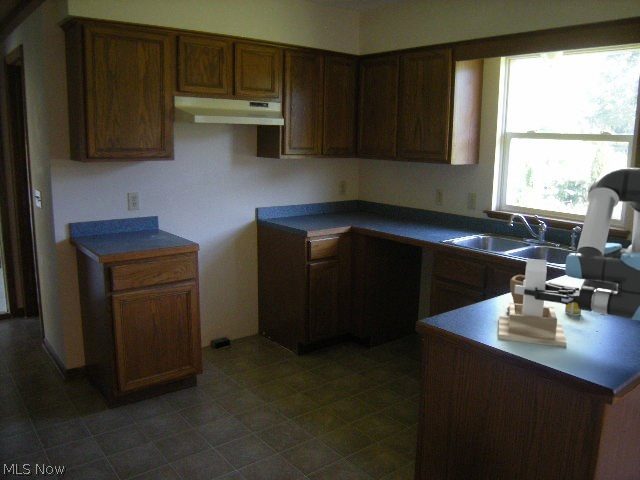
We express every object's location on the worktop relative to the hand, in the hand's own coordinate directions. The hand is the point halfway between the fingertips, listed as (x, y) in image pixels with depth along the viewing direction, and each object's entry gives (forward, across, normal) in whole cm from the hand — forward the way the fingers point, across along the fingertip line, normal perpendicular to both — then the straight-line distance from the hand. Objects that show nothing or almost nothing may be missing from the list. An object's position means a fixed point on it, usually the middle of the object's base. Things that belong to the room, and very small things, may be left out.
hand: (519, 286), depth 180 cm
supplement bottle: (-10, +32, -15) cm, 37 cm away
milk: (-5, 0, -12) cm, 13 cm away
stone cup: (+2, +18, -15) cm, 23 cm away
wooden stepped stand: (-5, 0, -15) cm, 16 cm away
